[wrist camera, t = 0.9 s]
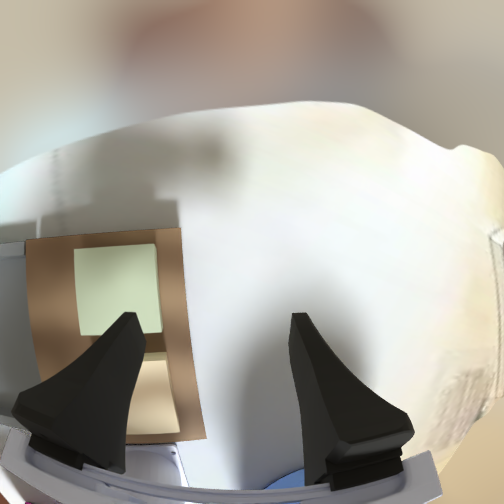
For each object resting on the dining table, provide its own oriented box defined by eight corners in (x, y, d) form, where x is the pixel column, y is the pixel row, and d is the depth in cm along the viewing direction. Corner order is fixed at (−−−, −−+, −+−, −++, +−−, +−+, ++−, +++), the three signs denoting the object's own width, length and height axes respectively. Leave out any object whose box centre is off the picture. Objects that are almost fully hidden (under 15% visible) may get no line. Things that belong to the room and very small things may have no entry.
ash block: (178, 417, 19) (179, 432, 17) (110, 420, 17) (104, 434, 15) (166, 351, 19) (165, 360, 17) (94, 354, 18) (85, 362, 15)
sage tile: (163, 326, 20) (161, 332, 17) (90, 330, 18) (80, 335, 16) (156, 248, 20) (154, 243, 18) (84, 253, 19) (74, 249, 16)
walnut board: (202, 423, 22) (206, 438, 19) (69, 425, 18) (60, 438, 15) (180, 234, 24) (180, 227, 21) (40, 244, 20) (26, 239, 17)
